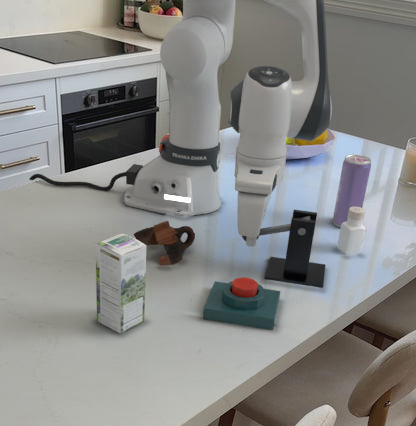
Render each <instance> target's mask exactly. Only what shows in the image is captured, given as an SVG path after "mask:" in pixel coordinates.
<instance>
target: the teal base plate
mask: <svg viewBox="0 0 416 426" xmlns="http://www.w3.org/2000/svg"><path fill="white" fill-rule="evenodd" d="M232 282H233V280H231V281H229V282H223V281H216V280H215V281H214V282H213V284H212V288H211V290H210V292H209V295H208V297H207V300H206V302H205V304H204V307H203V317H202V318H203V320H208V321H214V322H220V323H226V324H233V325H239V326H246V327H252V328H258V329H259V328H260V329H265V330H270V331H273V330H274V327H275V320H276V316H277V311H278V306H279V303H280V297H281V290H276V289H270V288H269V289H268V288H264V287H263V285H262V284H259V283H258V288H257V294H256V296H254V297H248V298H244V297H238V296H236V295H234V294H232V291H231V290H232Z"/></svg>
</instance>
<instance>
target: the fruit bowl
mask: <svg viewBox="0 0 416 426" xmlns="http://www.w3.org/2000/svg"><path fill="white" fill-rule="evenodd" d="M336 140H337V136H336V135H335V134H334V132H333V130H331V128H328V129H327V130H326V131H325V132H323V133H322V134H321V135H320V136H319V137H317V138H316V139H314V140H312V141H307V140H300V139H294V138H290V137H286V149H287V153H286V160H294V159H295V160H296V159H309V158H311V157H316V156H319V155H321V154H325V153H327V152H328V151H329V149H330V148H331V146H332V145H333V144H334V142H335V141H336Z"/></svg>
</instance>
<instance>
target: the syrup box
mask: <svg viewBox="0 0 416 426" xmlns="http://www.w3.org/2000/svg"><path fill="white" fill-rule="evenodd" d="M146 273H147V245H145V244H144V243H142V242H140V241H138V240H137V239H136V238H135V237H134V236H130V235H127V234H124V233H119V234H116V235H114V236H111V237H109V238H106V239H104V240H101V241H99V242H96V243H95V284H96V285H95V289H96V290H95V291H96V321H97V323H99V324H101V325H103V326H105V327H107V328H109V329H110V330H112V331H114V332H116V333H118V334H123V333H125V332H127V331H128V330H132V328H135V327H137V326H138V325H141V324H143V323H144V322H145V309H146V307H145V305H146V304H145V303H146V277H147V276H146V275H147V274H146Z"/></svg>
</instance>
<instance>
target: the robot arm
mask: <svg viewBox="0 0 416 426" xmlns="http://www.w3.org/2000/svg"><path fill="white" fill-rule="evenodd" d="M263 1H264V2H265V3H268V4H269V5H272V6H274V7H275V8H277V9H280V10H281V11H283V12H285V13H286V14H288V15H289V16H290V17H292V18H293V19H294V20H295V22H296V23H297V26H298V27H299V30H300V34H301V47H302V49H301V50H302V63H303V78H302V79H301V80H300V79H299V80H292V77H291V74H289V72H287V71H286V70H285V69H283V68H280V67H278V66H273V65H259V66H255V67H253V68H252V67H251V69H249V70H248V71H247V72H246V74H245V78H244V79H242V80H241V81H239V82H238V83H237V84H235V86H234V87H233V88H232V89H231V90H230V91H229V94H230V101H231V102H230V113H229V117H228V121H227V122H228V125H229V126H230V127H232V129H233V130H234V131H235V132H236V133H237V134H239V139H238V142H237V145H236V150H235V161H234V163H235V164H234V178H235V179H234V191H235V192H237V202H236V203H237V207H236V208H237V209H236V211H237V212H236V213H237V226H236V227H237V232H238V235H240V236H241V237H242V236H246V241H245V245H246V246H247V247H255V246H256V244H257V240H258V239H257V237H258V235H259V232H260V229H261V228H262V225H263V222H264V219H265V215H266V213H267V209H268V206H269V203H270V199H271V195H272V194H273V193H274V190H275V189H276V187H277V186H278V185H280V183H282V182H283V181H284V176H285V171H286V170H285V169H286V160H287V159H286V153H287V149H286V137H290V138H294V139H300V140H307V141H312V140H314V139H316V138H317V137H319V136H320V135H321V134H322V133H323V132H325V131H326V130H327V129H329V127H330V124H331V120H332V115H333V114H332V113H333V105H332V97H331V91H330V82H329V65H328V63H329V62H328V44H327V43H328V42H327V24H326V23H327V22H326V9H325V0H263ZM181 17H182V18H181V21H179V22H176V23H175V24H174V25H173V26H171V28H170V29H169V30H168V31H167V33H166V35H165V36H164V38H163V40H162V42H161V45H160V49H159V57H160V62H161V65H162V66H163V70H164V71H165V72H164V73H165V79H166V86H167V87H166V88H167V92H168V101H169V103H168V104H169V115H168V116H169V117H168V118H169V121H168V123H169V124H168V134H164V136H163V137H162V138H161V141H160V143H159V146H158V153H159V155H158V156H157V157H154V158H153V159H152V160H150V161H148V162H147V163H145V164H144V165H142V164H136V163H133V164H132V165H131V166H130V167H129V168H128V169H126V171H123V172H119V173H117V174H115V175H113V177H112V178H111V179H110V182H109V184H108V185H107V186H100V185H97V184H94V183H91V182H88V181H57V180H53V179H51V178H49V177H47V176H45V175H44V174H42V173H34V174H32V175H31V176H30V178H28V179H29V181H34V180H36V179H41V180H43V181H44V182H46V183H48V184H50V185H53V186H57V187H87V188H91V189H93V190H97V191H102V192H107V191H110V190H112V189H113V188H114V186H115V183H116V181H117V180H119V179H120V178H125V183H126V185H130V187H128V189H127V190H126V191H125V192H124V195H123V203H124V204H125V206H127V207H131V208H136V209H141V210H145V211H149V212H154V213H158V214H161V215H166V214H173V215H178V216H188V217H193V216H197V215H205V214H211V213H213V212H215V211H218V210H219V209H220V208H221V206H222V201H221V196H220V191H219V190H220V189H219V177H218V176H219V175H218V171H219V167H220V163H221V142H220V130H221V129H220V128H221V117H222V105H221V101H220V96H219V85H218V84H219V83H218V72H219V68H220V67H221V66H222V65H223V64H224V63H225V62H226V61H227V60H228V58H229V56H230V54H231V52H232V49H233V44H234V29H235V20H236V19H235V17H236V0H182V16H181Z"/></svg>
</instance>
